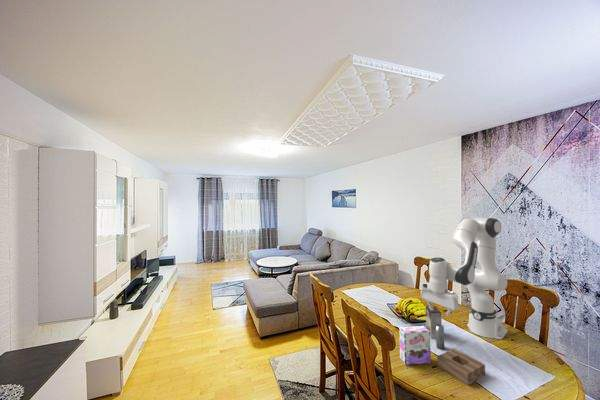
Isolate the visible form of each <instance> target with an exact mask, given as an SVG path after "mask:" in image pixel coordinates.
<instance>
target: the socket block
mask: <svg viewBox="0 0 600 400" xmlns="http://www.w3.org/2000/svg"><path fill="white" fill-rule="evenodd" d="M436 358H437V359H436V360H437V361H436V362H437V363H436V364H437V367H438V368H439V369H441V370H442V371H443V372H445V373H447V374H449V376H452V377H453V378H455V379H457V380H458V381H460V382H461V383H462V384H464V385H466V386H469V385H472V384H473V383H475V382H477V381H478V380H480V379H482V378H483V377H485V376H486V364H485V363H483V362H481V361H479V360H477V359H475V358H474V357H471V356H470V355H468V354H466V353H464V352H462V351H460V350H458V349H456V348H452V349H450V350H448V351H445V352H443V353H441V354H439V355H437V356H436Z"/></svg>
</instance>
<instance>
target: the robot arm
mask: <svg viewBox="0 0 600 400" xmlns="http://www.w3.org/2000/svg"><path fill="white" fill-rule="evenodd" d="M501 230H502V224H501V222H500V221H499V220H498V218H497V219H496V218H493V217H464V218H462V219H461V220H460V221H459V223H458V225H457V226H456V228H455V229H454V231H453V234H452V237H451V239H452V242H453V243H454V244H455V246H456V247H458V248H459V249H461V250H463V251H465V257H464V261H463V264H456V263H452V262H448V261H446V259H445V258H442V257H432V258H431V259H430V261H429V265H428V267H429V268H428V273H429V281H426V282H422V283H421V284H420V285H421V288H420V297H421V299H422V300H426V302H427V306H429V308H430V309H433V306H434V305H433V303H434V304H436V305H439V306H442V307H444V308H446V310H447V311H444V315H445V316H446V317H450V315H451V311H458V310H459V309H460V305H459V296H458V294H457V293H456V292H454V291H451V290H448V281H447V280H449V281H451V282H455V283H457V284H460V285H463V286H466V288H467V289H468V292H469V294H470V295H469V296H470V301H471V306H470V313H469V314H468V323H466V326H467V327H468V328H469V331H470V332H472V333H473V334H475V335H478V336H480V337H483V338H488V339H495V340H503V339H504V337H505V336H506V335H507V334H508V332H509V330H508V329H507V328H505V327H503V326H504V325H503V321H502V319H499V318H498V317H497V316H496V315H497V314H498V312H499V311H498V310H497V309H495V307H494V306H495V305H494V298H493V296H491V294H489V293H488V292H487V291H486V290H491V291H497V292H503V291H505V290H506V288H507V287H508V280H507V278H506V276H505V275H503V274H502V273H501V271H500V269H498V267H497V263H496V252H497V238H496V237H497V236H498V235H499V234H500V232H501ZM477 263H478V264H479V266H480V268H476V264H477ZM485 289H486V290H485Z"/></svg>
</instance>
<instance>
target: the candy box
mask: <svg viewBox="0 0 600 400" xmlns="http://www.w3.org/2000/svg"><path fill="white" fill-rule="evenodd" d="M398 329H399V330H398V334H399V341H398V342H399V359H400V360H401V362H402V363H403V364H404V365H405V366H410V365H426V364H431V363H432V360H431V359H432V357H431V355H432V354H431V352H432V351H431V337H430V331H429V330H428V329H427V328H426V327H425V325H418V326H417V325H416V326H414V325H413V326H399V328H398Z"/></svg>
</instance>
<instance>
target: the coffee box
mask: <svg viewBox="0 0 600 400" xmlns="http://www.w3.org/2000/svg"><path fill="white" fill-rule="evenodd" d="M432 306H433V309H430V308H429V305H425V325H426V327H425V328H427V329H428V330H429V331H430V339H434V340H436V325H437V324H439V325H442V312H441V311H440V309H439V308H438V307H437V306H436V305H432Z"/></svg>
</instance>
